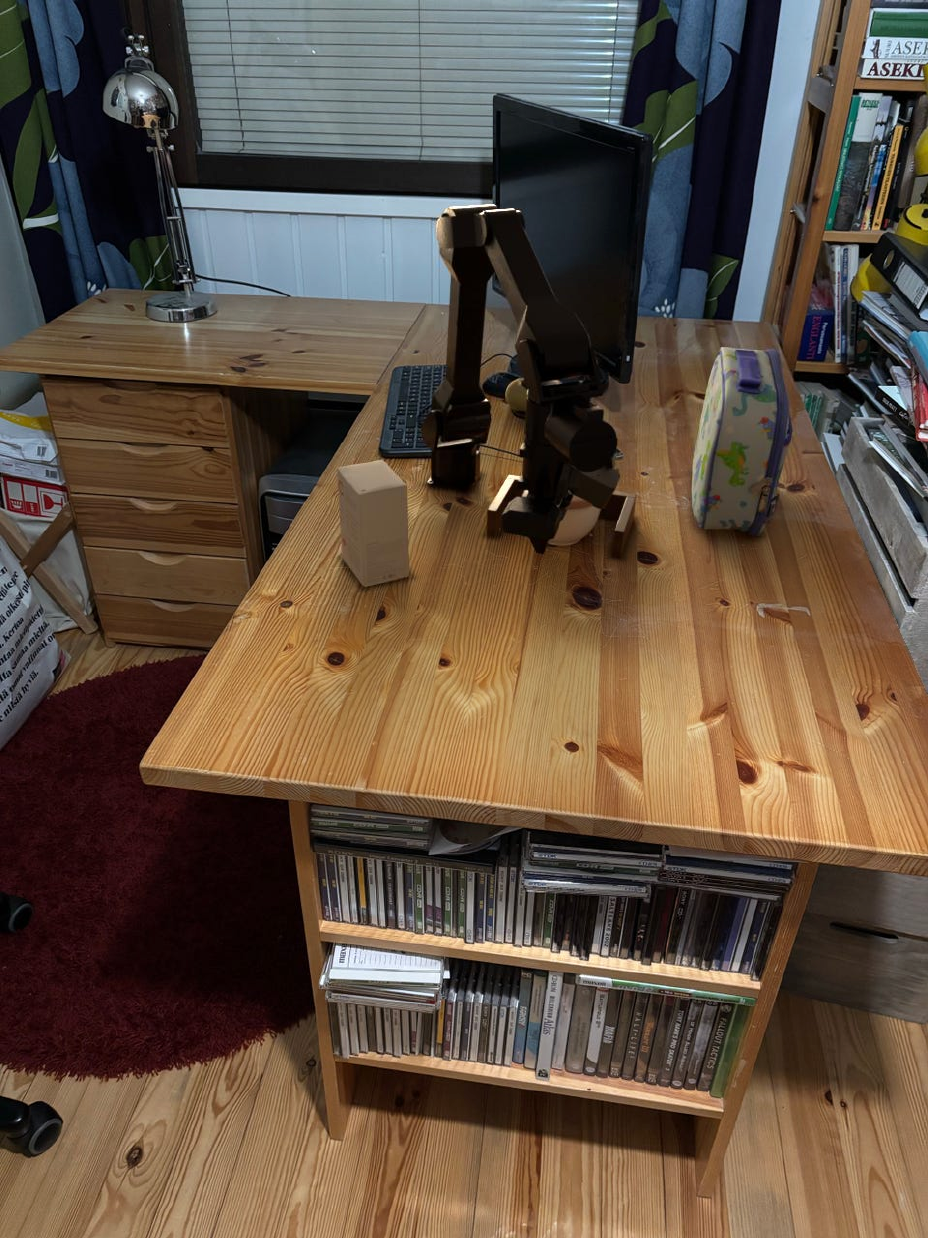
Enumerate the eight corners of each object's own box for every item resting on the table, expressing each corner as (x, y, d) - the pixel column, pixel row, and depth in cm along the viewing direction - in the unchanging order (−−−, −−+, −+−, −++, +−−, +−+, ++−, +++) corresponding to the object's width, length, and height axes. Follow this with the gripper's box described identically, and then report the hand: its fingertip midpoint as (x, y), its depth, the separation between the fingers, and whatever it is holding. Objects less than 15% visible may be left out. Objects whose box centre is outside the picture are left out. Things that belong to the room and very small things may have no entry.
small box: (410, 577, 118) (408, 484, 111) (363, 588, 116) (358, 495, 109) (386, 547, 124) (383, 457, 117) (341, 557, 122) (334, 467, 114)
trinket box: (515, 517, 132) (518, 456, 126) (589, 514, 133) (596, 453, 127) (526, 556, 123) (531, 492, 118) (606, 553, 124) (614, 490, 119)
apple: (551, 417, 161) (553, 384, 158) (504, 416, 161) (506, 383, 158) (549, 404, 166) (552, 372, 162) (504, 402, 166) (506, 370, 163)
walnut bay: (486, 535, 127) (487, 509, 125) (507, 499, 136) (508, 474, 134) (620, 558, 123) (623, 531, 121) (633, 519, 132) (636, 493, 130)
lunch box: (771, 551, 125) (806, 402, 113) (690, 543, 127) (716, 395, 115) (758, 467, 146) (786, 334, 134) (688, 461, 148) (710, 329, 136)
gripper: (604, 480, 98) (590, 603, 107) (631, 414, 113) (617, 527, 122) (502, 465, 101) (497, 586, 110) (541, 403, 115) (534, 514, 124)
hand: (540, 552), depth 116 cm, fingers closed
